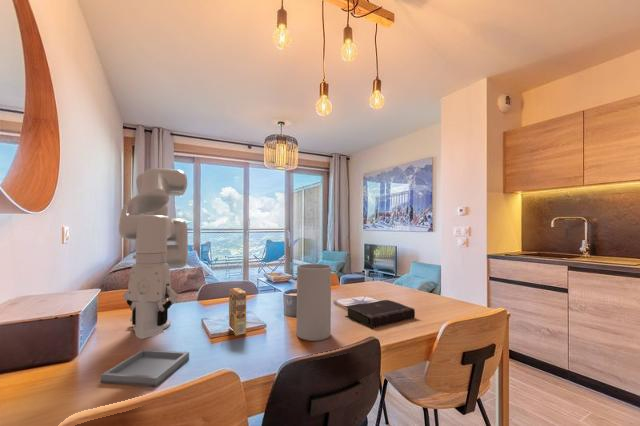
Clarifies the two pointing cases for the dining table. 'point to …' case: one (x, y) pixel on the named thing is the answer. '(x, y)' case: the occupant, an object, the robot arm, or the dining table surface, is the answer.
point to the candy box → (237, 310)
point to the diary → (379, 313)
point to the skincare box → (147, 318)
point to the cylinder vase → (313, 302)
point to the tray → (145, 368)
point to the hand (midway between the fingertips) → (149, 323)
